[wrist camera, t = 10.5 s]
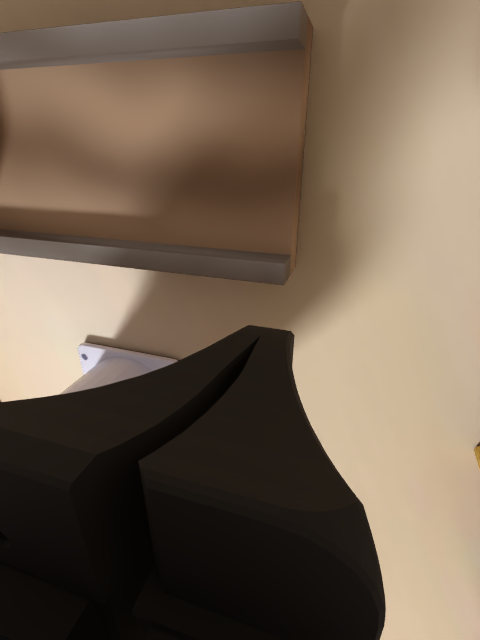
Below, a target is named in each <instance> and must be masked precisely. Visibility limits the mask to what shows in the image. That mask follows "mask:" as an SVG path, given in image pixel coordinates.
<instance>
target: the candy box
mask: <svg viewBox="0 0 480 640" xmlns="http://www.w3.org/2000/svg"><path fill="white" fill-rule="evenodd" d="M474 451H475V455H476V458H477V462H478V465H479V468H480V446H478V447H475V449H474Z"/></svg>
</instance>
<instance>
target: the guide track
mask: <svg viewBox="0 0 480 640" xmlns="http://www.w3.org/2000/svg"><path fill="white" fill-rule="evenodd" d="M312 33H313V26H312V24H311V22H310V20H309V18H308V15H307V13H306V11H305V9H304V7H303V5H302V2H301V1H299V2H289V3H280V4H270V5H261V6H251V7H242V8H232V9H223V10H213V11H203V12H194V13H184V14H175V15H165V16H156V17H146V18H137V19H127V20H118V21H108V22H99V23H89V24H80V25H70V26H61V27H51V28H42V29H32V30H23V31H13V32H4V33H0V253H2V254H11V255H20V256H29V257H38V258H47V259H56V260H64V261H73V262H82V263H91V264H100V265H109V266H118V267H126V268H135V269H144V270H153V271H162V272H171V273H180V274H188V275H197V276H206V277H215V278H224V279H233V280H242V281H250V282H259V283H268V284H277V285H284V284H285V282H286V280H287V279H288V277H289V276H290V274H291V272H292V271H293V269H294V267H295V262H296V248H297V235H298V221H299V208H300V194H301V181H302V168H303V154H304V141H305V127H306V114H307V100H308V87H309V74H310V60H311V47H312Z"/></svg>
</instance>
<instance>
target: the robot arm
mask: <svg viewBox="0 0 480 640" xmlns="http://www.w3.org/2000/svg"><path fill="white" fill-rule="evenodd" d="M293 347H294V334H293V333H292V332H291V331H286V330H279V329H272V328H265V327H258V326H252V325H249V326H246V327H244V328H242V329H240V330H238V331H236V332H235V333H233V334H231V335H229V336H227V337H226V338H224V339H222V340H220V341H218V342H216V343H214V344H212V345H211V346H209V347H207V348H205V349H203V350H201V351H199V352H197V353H194V354H192V355H190V356H188V357H186V358H184V359H182V360H180V361H177V360H175V359H171V358H166V357H161V356H155V355H150V354H144V353H139V352H134V351H128V350H123V349H118V348H112V347H107V346H101V345H96V344H91V343H82V344H80V345H79V346H78V352H79V357H80V361H81V366H82V370H83V376H82V377H81V378H79V379H78V380H77V381H76V382H74V383H73V384H72V385H71V386H69V387H68V388H67V389H66V390H64V391H63V392H62V393H61V394H59V395H54V396H48V397H41V398H33V399H25V400H17V401H9V402H0V640H380V637H381V634H382V631H383V627H384V622H385V610H386V607H385V595H384V588H383V581H382V575H381V570H380V565H379V560H378V556H377V552H376V548H375V544H374V540H373V537H372V533H371V530H370V526H369V523H368V520H367V516H366V513H365V510H364V506H363V504H362V503H361V502H360V500H359V499H358V498H357V497H356V495H355V494H354V493H353V491H352V490H351V489H350V487H349V486H348V485H347V483H346V482H345V481H344V479H343V478H342V476H341V475H340V474H339V472H338V471H337V469H336V468H335V466H334V465H333V463H332V462H331V460H330V458H329V457H328V455H327V454H326V452H325V450H324V449H323V447H322V445H321V443H320V441H319V439H318V438H317V436H316V434H315V432H314V430H313V428H312V427H311V424H310V422H309V420H308V418H307V415H306V413H305V411H304V408H303V406H302V403H301V400H300V397H299V394H298V391H297V388H296V384H295V380H294V375H293V370H292V360H293ZM86 355H87V356H86Z"/></svg>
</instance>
